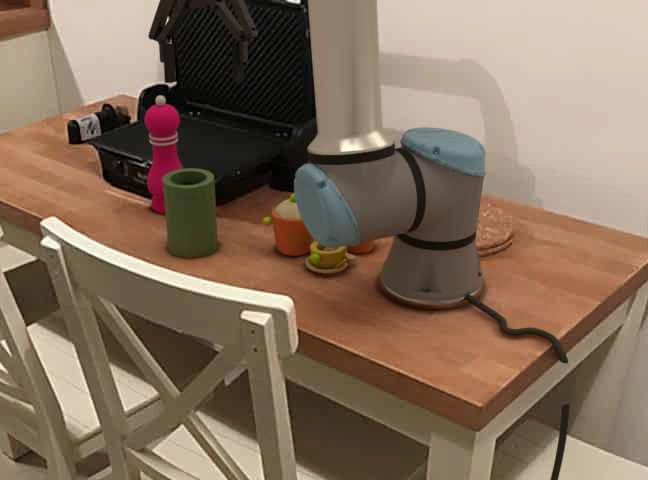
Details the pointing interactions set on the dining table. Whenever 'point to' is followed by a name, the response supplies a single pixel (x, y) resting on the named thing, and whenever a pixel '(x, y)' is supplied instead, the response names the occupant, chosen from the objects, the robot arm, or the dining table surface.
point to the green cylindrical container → (190, 212)
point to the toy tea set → (308, 240)
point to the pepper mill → (162, 147)
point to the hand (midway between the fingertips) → (203, 83)
